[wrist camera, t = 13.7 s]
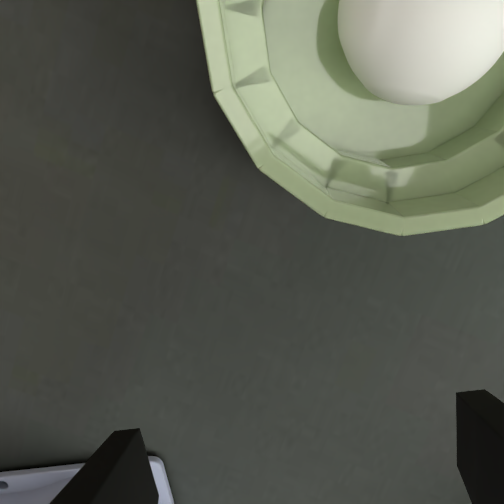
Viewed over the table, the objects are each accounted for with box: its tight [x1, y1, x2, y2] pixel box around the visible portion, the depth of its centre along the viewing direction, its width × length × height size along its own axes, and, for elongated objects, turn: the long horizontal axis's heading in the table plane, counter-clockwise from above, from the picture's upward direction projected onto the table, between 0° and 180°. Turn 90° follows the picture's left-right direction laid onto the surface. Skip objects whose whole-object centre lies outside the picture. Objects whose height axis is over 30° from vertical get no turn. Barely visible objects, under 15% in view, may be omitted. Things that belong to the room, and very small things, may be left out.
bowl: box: [196, 0, 504, 236], centre depth 14 cm, size 12×12×4 cm
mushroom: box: [338, 0, 504, 105], centre depth 13 cm, size 5×5×5 cm
